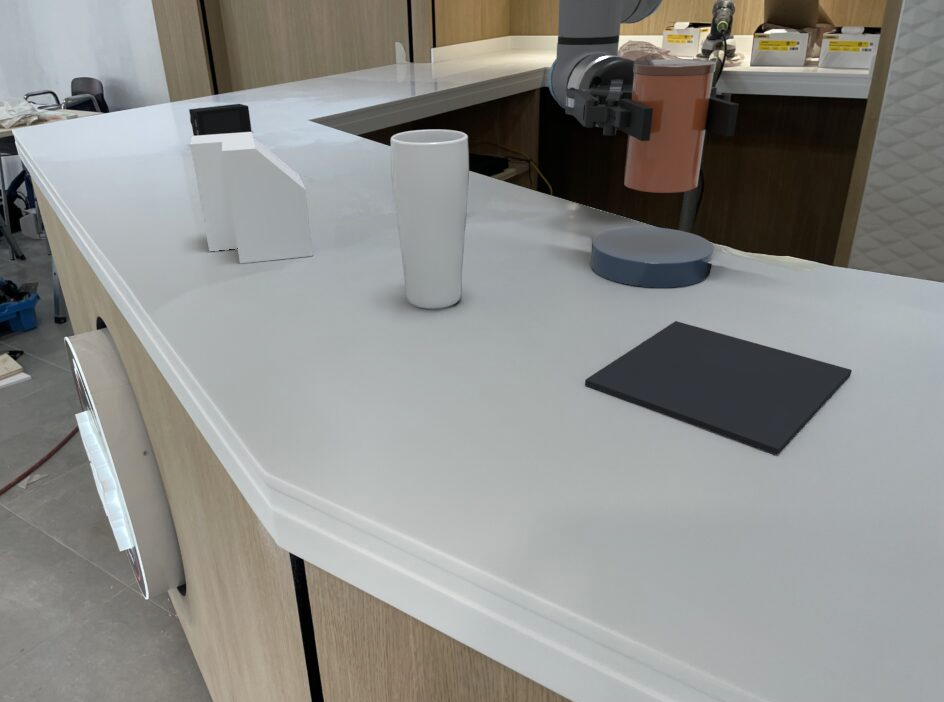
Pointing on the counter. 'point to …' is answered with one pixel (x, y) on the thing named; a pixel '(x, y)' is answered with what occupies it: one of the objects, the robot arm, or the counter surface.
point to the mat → (723, 384)
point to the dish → (652, 257)
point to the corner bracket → (250, 199)
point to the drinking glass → (431, 212)
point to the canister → (670, 124)
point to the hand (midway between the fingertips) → (689, 122)
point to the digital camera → (220, 119)
